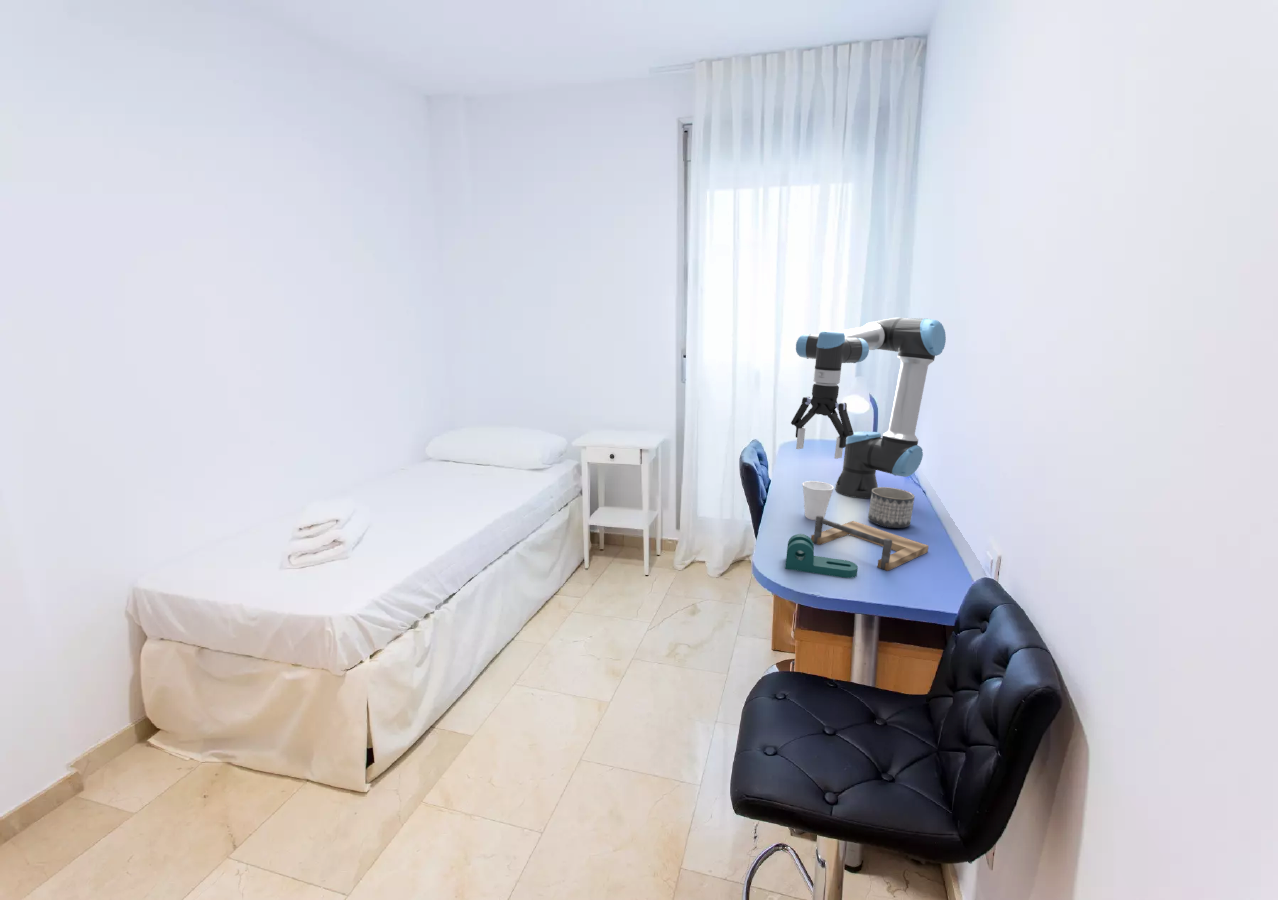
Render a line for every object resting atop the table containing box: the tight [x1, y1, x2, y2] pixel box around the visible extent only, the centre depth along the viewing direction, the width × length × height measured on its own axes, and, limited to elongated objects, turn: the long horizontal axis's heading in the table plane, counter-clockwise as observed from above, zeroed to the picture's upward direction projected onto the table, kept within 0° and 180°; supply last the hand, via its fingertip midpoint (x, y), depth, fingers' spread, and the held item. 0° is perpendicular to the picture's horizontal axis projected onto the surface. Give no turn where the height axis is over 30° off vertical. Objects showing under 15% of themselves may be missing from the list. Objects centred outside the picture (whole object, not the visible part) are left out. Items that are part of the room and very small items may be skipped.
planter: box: [867, 486, 916, 529], centre depth 193 cm, size 13×13×10 cm
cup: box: [802, 480, 835, 521], centre depth 196 cm, size 10×10×11 cm
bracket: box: [784, 533, 859, 579], centre depth 157 cm, size 18×7×8 cm, turn 74°
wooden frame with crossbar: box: [810, 516, 930, 572], centre depth 173 cm, size 22×24×8 cm
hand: (818, 453), depth 184 cm, fingers open, 13 cm apart
